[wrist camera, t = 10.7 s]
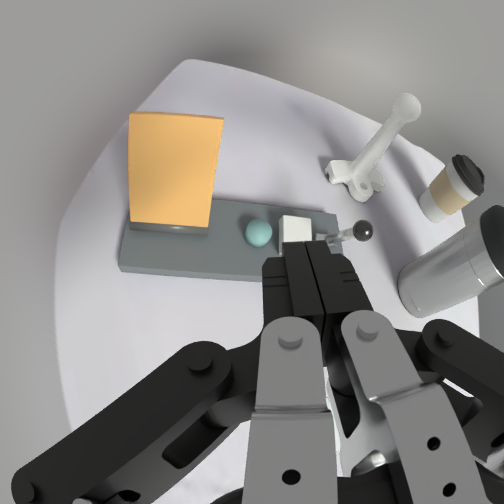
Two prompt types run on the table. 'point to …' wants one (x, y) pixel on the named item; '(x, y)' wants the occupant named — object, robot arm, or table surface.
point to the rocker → (294, 230)
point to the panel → (216, 244)
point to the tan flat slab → (172, 171)
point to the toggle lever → (348, 234)
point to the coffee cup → (452, 189)
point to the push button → (258, 233)
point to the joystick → (374, 152)
